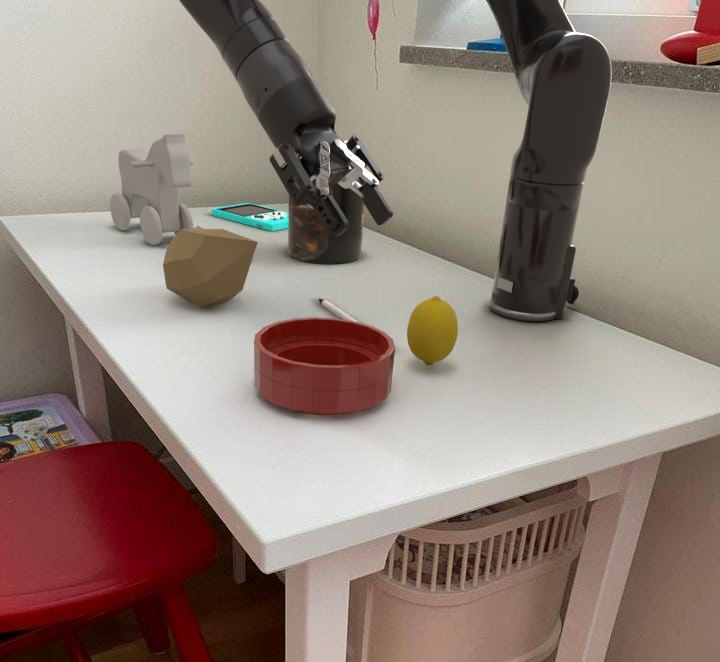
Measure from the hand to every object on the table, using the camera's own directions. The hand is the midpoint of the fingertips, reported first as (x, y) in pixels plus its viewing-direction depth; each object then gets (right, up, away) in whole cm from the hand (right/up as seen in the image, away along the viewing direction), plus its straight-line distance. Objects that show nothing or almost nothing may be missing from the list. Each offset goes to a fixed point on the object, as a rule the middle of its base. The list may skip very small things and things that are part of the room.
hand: (365, 226), depth 84 cm
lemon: (+7, -15, +2) cm, 17 cm away
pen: (-2, -8, +13) cm, 16 cm away
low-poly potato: (-21, -4, +18) cm, 28 cm away
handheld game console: (-20, +21, +60) cm, 66 cm away
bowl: (-4, -19, -5) cm, 20 cm away
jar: (-6, +9, +41) cm, 42 cm away
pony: (-35, +13, +44) cm, 57 cm away
